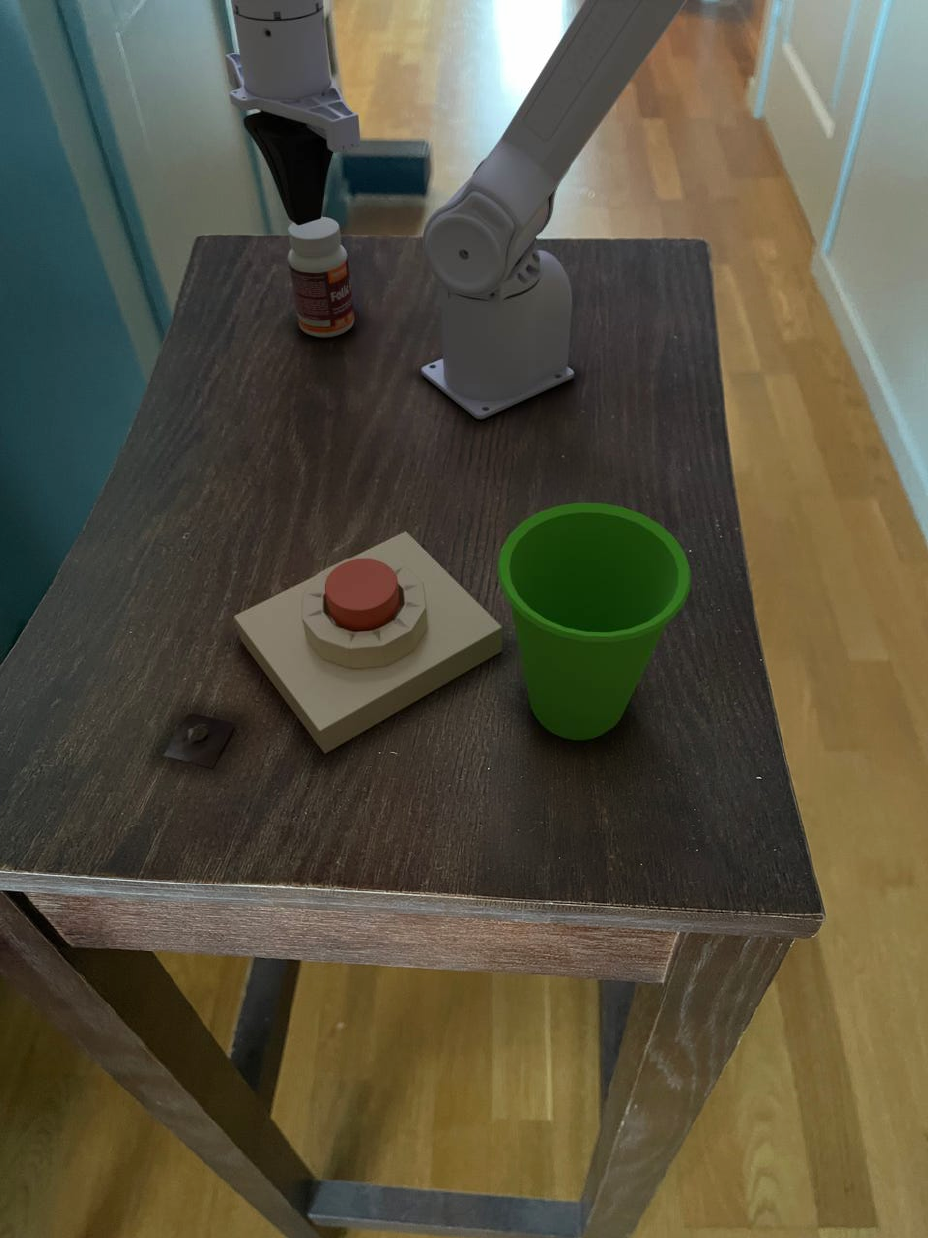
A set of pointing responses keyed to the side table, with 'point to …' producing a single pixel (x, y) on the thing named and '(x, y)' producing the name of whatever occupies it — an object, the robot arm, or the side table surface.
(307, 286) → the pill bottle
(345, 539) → the side table surface
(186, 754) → the dark square tile
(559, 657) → the cup
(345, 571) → the lid button
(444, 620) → the button housing
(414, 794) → the side table surface
